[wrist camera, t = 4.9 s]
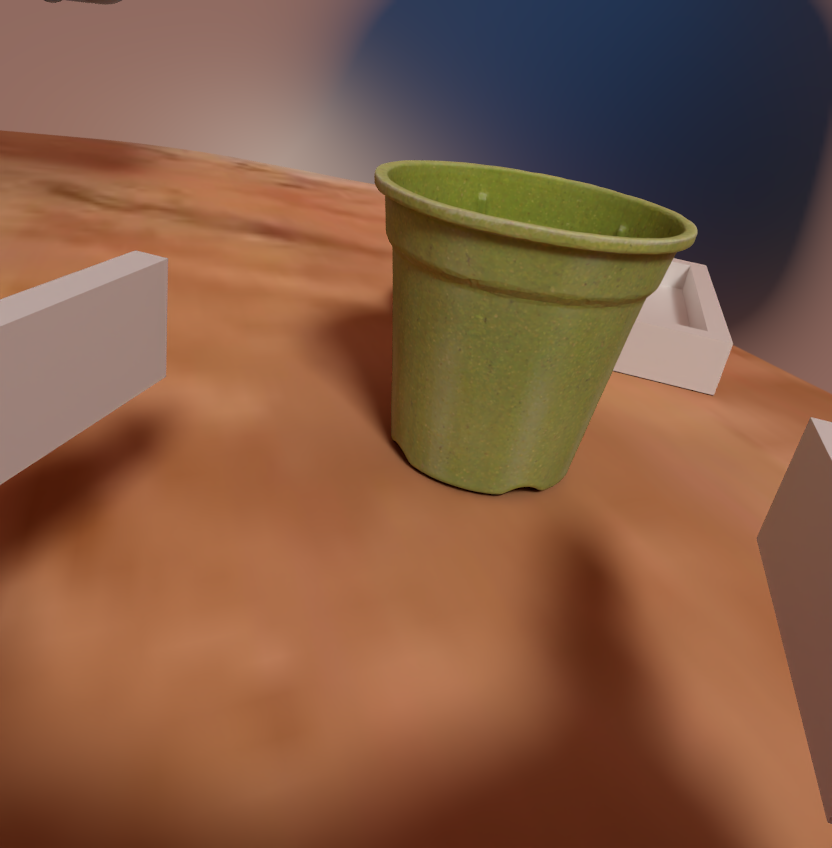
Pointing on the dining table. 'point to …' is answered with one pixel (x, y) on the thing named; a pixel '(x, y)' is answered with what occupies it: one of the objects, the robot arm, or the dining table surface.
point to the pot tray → (679, 332)
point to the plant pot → (511, 313)
